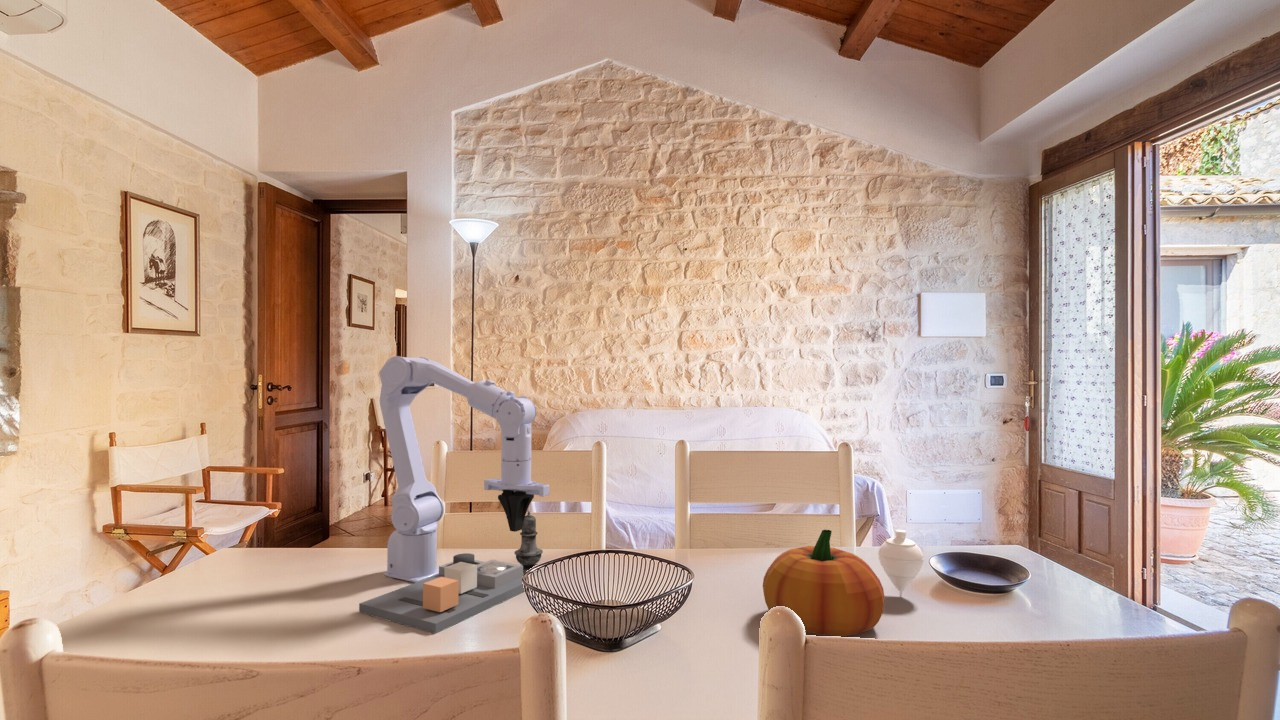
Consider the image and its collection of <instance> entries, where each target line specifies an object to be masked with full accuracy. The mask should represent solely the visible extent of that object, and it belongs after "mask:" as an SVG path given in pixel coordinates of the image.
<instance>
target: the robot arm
mask: <svg viewBox="0 0 1280 720" xmlns="http://www.w3.org/2000/svg"><path fill="white" fill-rule="evenodd" d="M379 377H380V383H381V387H380V389H381V390H380V395H379V406H380V411H381V414H382V421H383V424H384V429H385V434H386V438H387V442H388V447H389V451H390V454H391V455H390V456H391V459H392V465H393V468H394V474H395V477H396V478H395V479H396V482H397V487H396V490H395V491H394V493H393V494H392V496H391V499H390V500H391V503H392V505H391V506H392V511H391V516H390V517H391V522H392V525H393V527H394V528H395V530H394V531H393V532H392V533H391V534H390V536H389V538H388V540H387V546H386V548H387V551H386V552H387V555H386V556H387V557H386V559H387V560H386V563H387V564H386V569H387V570H386V571H385V572H383V576H385V577H389V578H393V579H397V580H402V581H407V582H411V583H417V582H419V581H422V580H425V579H428V578H430V577H433V576H436V575H438V574H439V567H437V562H438V561H437V558H438V557H437V549H438V548H437V547H438V527H439V522H440V520H441V519H442V518H443V516H444V514H445V505H444V502H443V500H442V499H441V497H440V496H439V494H438V491H437V489H436V486H435V485H434V484H433V483H432V482H431V481H429V479H427V477H426V472H425V466H424V463H423V459H422V454H421V450H420V445H419V442H418V441H419V440H418V436H417V432H416V428H415V427H416V426H415V423H414V420H413V415H412V410H411V404H412V402H414V400H415V398H416V397H417V396H418V395H419V394H420V393H422V392H423V391H424V390H425V389H426V388H427V387H429V386H431V384H434V385H437V386H439V387H442V388H444V389H446V390H448V391H451V392H453V393H456V394H458V395H460V396H462V397H464V398H466V400H467V403H468V406H470V407H471V408H473V409H476V410H477V411H479V412H481V413H483V414H485V415H487V416H490V417H492V418H493V419H495V420H497V423H498V424H499V426H500V428H501V457H500V458H501V459H500V460H501V462H500V467H501V468H500V472H501V474H500V478H498V479H497V478H496V479H495V478H489V479H485V480H484V487H483V489H484V491H499V492H501V494H498V495H497V499H498V501H499V503H500V504H501V506H502V509H503V511H504V513H505V517H506V521H507V523H508V527H509V531H510V532H518V531H522V526H523V522H524V518H525V516H527V513H528V509H529V507H530V505H531V503H532V502H533V499H534V498H535V496H539V497H547V496H550V484H545V483H540V482H537V481H532V438H533V437H532V423H533V422H534V420H535V419H536V417H537V406H536V405H535V403H534V402H533V401H532V400H531V399H530V398H529V397H527V396H524V395H523V396H522V395H521V396H516V395H515V394H516V393H515V392H514V391H512V390H508V391H507V390H505V389H503V388H501V387H498V386H496V385H495V384H496V382H495V380H494V381H493V380H492V379H487V380H483V379H482V380H479V381H476V382H475V381H472V380H470V379H469V378H467V377H465V376H463V375H461V374H459V373H457V372H456V371H454V370H452V369H450V368H448V367H447V366H444V365H443V364H441V362H438V361H436V360H431V359H429V358H427V357H423V356H422V357H421V356H419V357H407V356H405V357H404V356H400V355H395V356H392V357H390V358H388V359H387V360H386V361H385V363H384V364H383V366H382V367H381V369H380V370H379Z"/></svg>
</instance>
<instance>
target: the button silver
mask: <svg viewBox="0 0 1280 720" xmlns="http://www.w3.org/2000/svg"><path fill="white" fill-rule="evenodd" d="M506 569H507V566H506V564H503V563H488V564H484V565H482V566H480V572H485V573H490V574H497V573H499V572H502V571H504V570H506Z"/></svg>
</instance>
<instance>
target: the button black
mask: <svg viewBox="0 0 1280 720" xmlns="http://www.w3.org/2000/svg"><path fill="white" fill-rule="evenodd" d="M452 560H453V561H452V562H453V564H456V563H459V562H465V563H470V564H474V560H475V554H474V553H466V552H465V553H458V554H456V555H454V556H453V559H452Z"/></svg>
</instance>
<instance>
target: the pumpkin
mask: <svg viewBox="0 0 1280 720" xmlns="http://www.w3.org/2000/svg"><path fill="white" fill-rule="evenodd" d="M831 536H832V530H830V529H822V530H821V532H820V534H819V537H818V538H817V540H816V543H815V545H814V546H812V545H807V546H800V547H796V548H791V549H788V550H785V551H784V552H782V553H781V554H779V555H778V556H777V557H775V559H774V560H773V562H772V563H771V564H770V565H769V567H768V568H767V570H766V571H765V575H764V576H763V581H762V590H763V598H764V602H765V604H766V607H767V609H768V611H769V610H770V609H771V608H773V607H776V606H785V607H788V608H790V609H791V610H793V611H794V612H795V613H796V614H797V615H798V616H799V617H800V618H801V620H802V622H803V624H804V626H805V630H806V632H805V633H809V634H815V635H823V636H836V637H837V636H838V637H848V636H853V635H857V634H861V633H864V632H867V631H869V630H872V629H873V628H875V626H876V625H877V624H878V623H879V621H880V619H881V617H882V615H883V611H884V604H885V603H884V602H885V592H884V587H883V585H882V582H881V580H880V578H879V577H878V576H877V574H876V573H875V572H874V570H873V569H872V567H871V566H870V565H869V564H868V563H867V562H866V561H865V560H863V558H862V557H859V556H858V555H856V554H854V553H851V552H848V551H845V550H842V549H839V548H835V547H831V543H830V542H831Z"/></svg>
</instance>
